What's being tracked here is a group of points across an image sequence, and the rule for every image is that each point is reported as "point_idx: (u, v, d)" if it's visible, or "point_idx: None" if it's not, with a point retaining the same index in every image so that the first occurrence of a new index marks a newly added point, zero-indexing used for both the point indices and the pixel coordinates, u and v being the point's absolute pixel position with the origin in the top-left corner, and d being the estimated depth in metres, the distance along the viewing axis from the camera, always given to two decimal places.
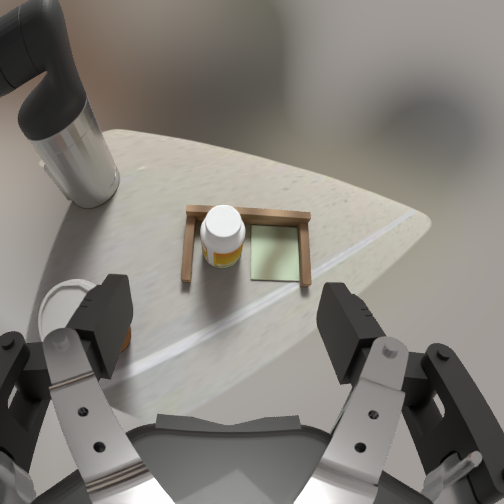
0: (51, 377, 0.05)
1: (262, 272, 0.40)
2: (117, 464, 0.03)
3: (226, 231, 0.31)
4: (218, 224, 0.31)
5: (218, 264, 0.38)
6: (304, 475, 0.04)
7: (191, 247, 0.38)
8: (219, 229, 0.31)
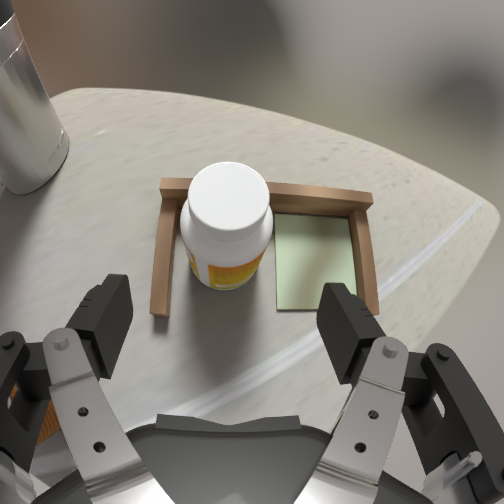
0: (51, 377, 0.05)
1: (297, 295, 0.22)
2: (117, 464, 0.03)
3: (236, 217, 0.13)
4: (217, 202, 0.13)
5: (217, 285, 0.20)
6: (304, 475, 0.04)
7: (168, 253, 0.21)
8: (219, 213, 0.13)
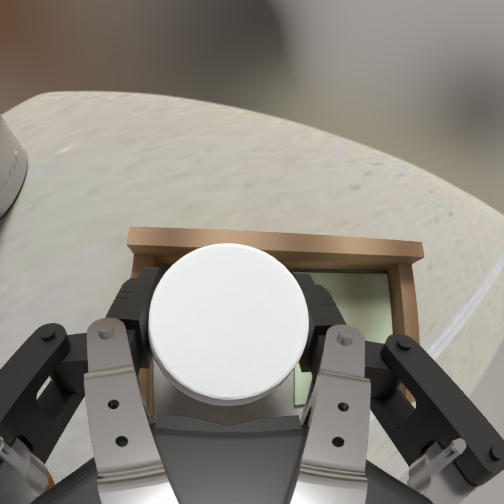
0: (89, 364, 0.06)
1: None
2: (117, 464, 0.03)
3: (245, 373, 0.06)
4: (207, 340, 0.06)
5: None
6: (287, 478, 0.04)
7: None
8: (212, 365, 0.06)
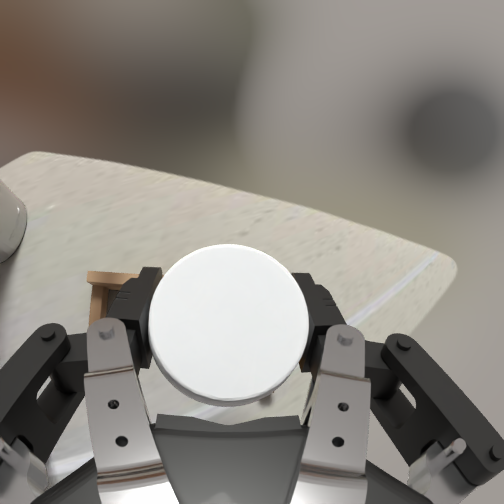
0: (89, 364, 0.06)
1: None
2: (117, 464, 0.03)
3: (245, 374, 0.06)
4: (207, 341, 0.06)
5: None
6: (287, 478, 0.04)
7: None
8: (212, 366, 0.06)
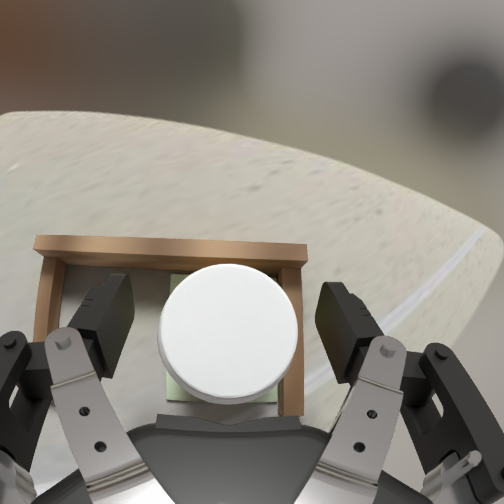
0: (53, 376, 0.05)
1: None
2: (117, 464, 0.03)
3: (243, 375, 0.07)
4: (210, 347, 0.08)
5: None
6: (303, 475, 0.04)
7: (46, 325, 0.14)
8: (215, 368, 0.07)
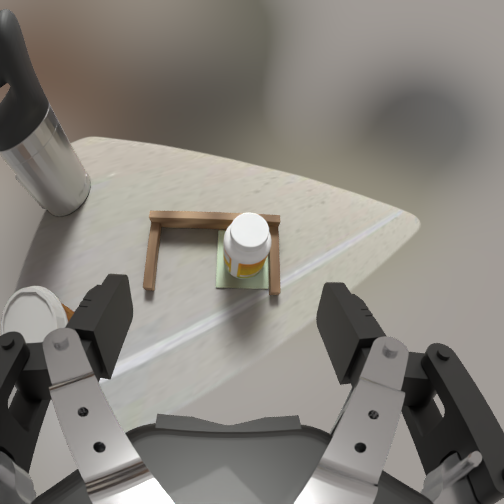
0: (51, 377, 0.05)
1: (228, 279, 0.37)
2: (117, 464, 0.03)
3: (253, 241, 0.29)
4: (244, 233, 0.29)
5: (241, 275, 0.36)
6: (304, 475, 0.04)
7: (154, 254, 0.36)
8: (246, 239, 0.29)
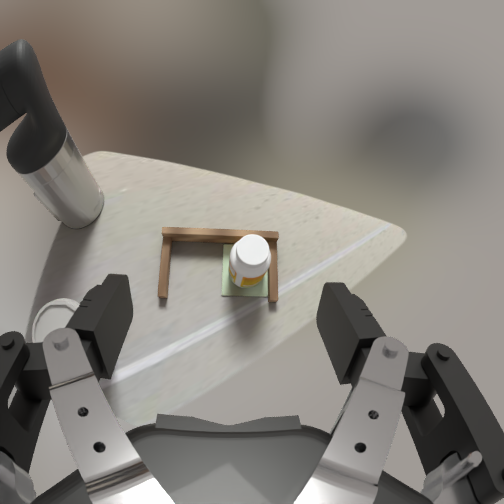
0: (51, 377, 0.05)
1: (232, 288, 0.42)
2: (117, 464, 0.03)
3: (256, 259, 0.34)
4: (248, 253, 0.34)
5: (244, 285, 0.41)
6: (304, 475, 0.04)
7: (167, 266, 0.41)
8: (250, 257, 0.34)
